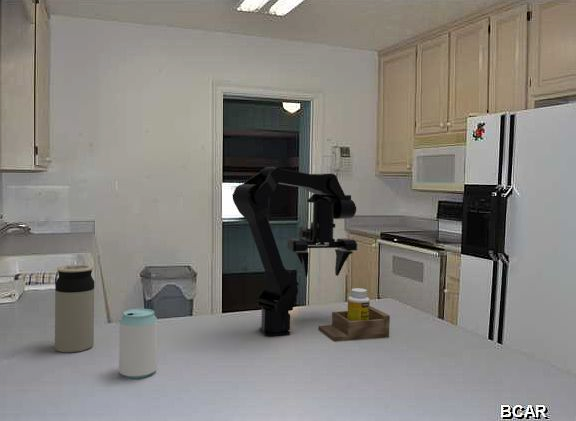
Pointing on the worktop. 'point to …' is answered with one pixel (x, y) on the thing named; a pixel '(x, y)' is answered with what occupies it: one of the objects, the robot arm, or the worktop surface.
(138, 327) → the can
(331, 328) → the open wooden box
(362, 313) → the supplement bottle
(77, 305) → the travel mug
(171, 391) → the worktop surface
